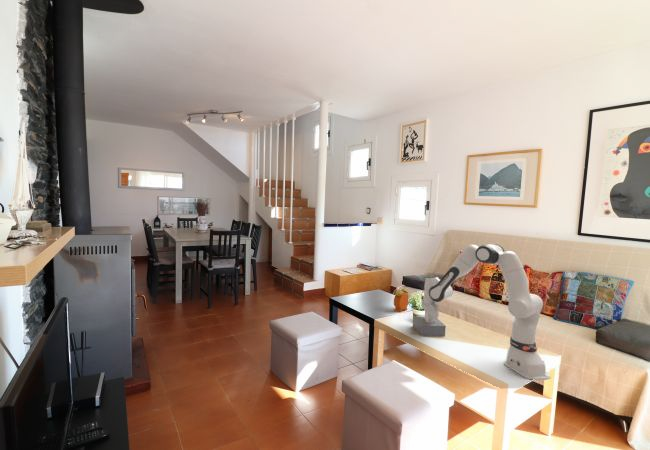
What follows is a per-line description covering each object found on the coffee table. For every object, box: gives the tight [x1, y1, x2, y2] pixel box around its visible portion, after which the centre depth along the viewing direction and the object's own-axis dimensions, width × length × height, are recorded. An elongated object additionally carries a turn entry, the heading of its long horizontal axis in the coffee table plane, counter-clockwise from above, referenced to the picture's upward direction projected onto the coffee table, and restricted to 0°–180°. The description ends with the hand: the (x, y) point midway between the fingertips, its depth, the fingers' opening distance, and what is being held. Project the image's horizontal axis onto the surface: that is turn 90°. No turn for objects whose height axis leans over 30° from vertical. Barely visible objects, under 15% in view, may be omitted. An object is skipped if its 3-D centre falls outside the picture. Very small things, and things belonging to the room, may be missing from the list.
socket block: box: [412, 316, 447, 337], centre depth 221 cm, size 16×16×7 cm
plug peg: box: [425, 312, 434, 323], centre depth 221 cm, size 4×4×11 cm
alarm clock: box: [393, 285, 410, 313], centre depth 261 cm, size 13×6×20 cm, turn 133°
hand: (429, 319), depth 221 cm, fingers closed on plug peg, 4 cm apart
